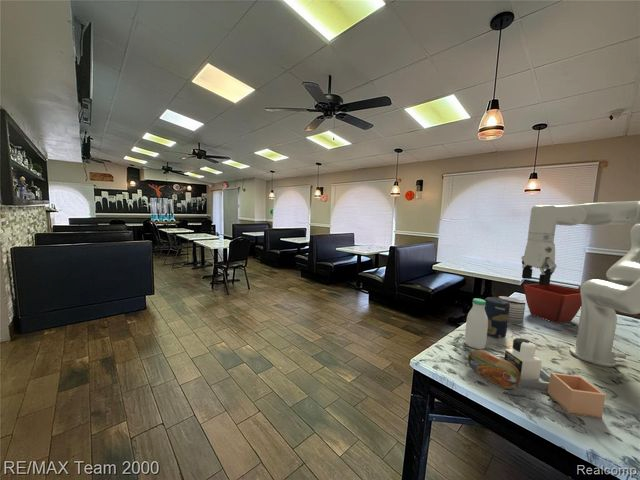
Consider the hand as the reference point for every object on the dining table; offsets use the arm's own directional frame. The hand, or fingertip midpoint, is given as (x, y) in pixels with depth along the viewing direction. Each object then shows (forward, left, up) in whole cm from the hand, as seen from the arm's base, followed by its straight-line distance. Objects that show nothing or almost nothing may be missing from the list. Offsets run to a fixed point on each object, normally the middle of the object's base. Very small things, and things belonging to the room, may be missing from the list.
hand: (534, 281), depth 95 cm
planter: (+3, +27, -30) cm, 41 cm away
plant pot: (-39, -46, -31) cm, 68 cm away
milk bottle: (+17, -4, -31) cm, 35 cm away
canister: (+4, -16, -31) cm, 35 cm away
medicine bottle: (+10, +14, -30) cm, 35 cm away
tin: (+21, +19, -31) cm, 42 cm away
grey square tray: (+10, +15, -30) cm, 35 cm away
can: (-14, -37, -31) cm, 50 cm away
